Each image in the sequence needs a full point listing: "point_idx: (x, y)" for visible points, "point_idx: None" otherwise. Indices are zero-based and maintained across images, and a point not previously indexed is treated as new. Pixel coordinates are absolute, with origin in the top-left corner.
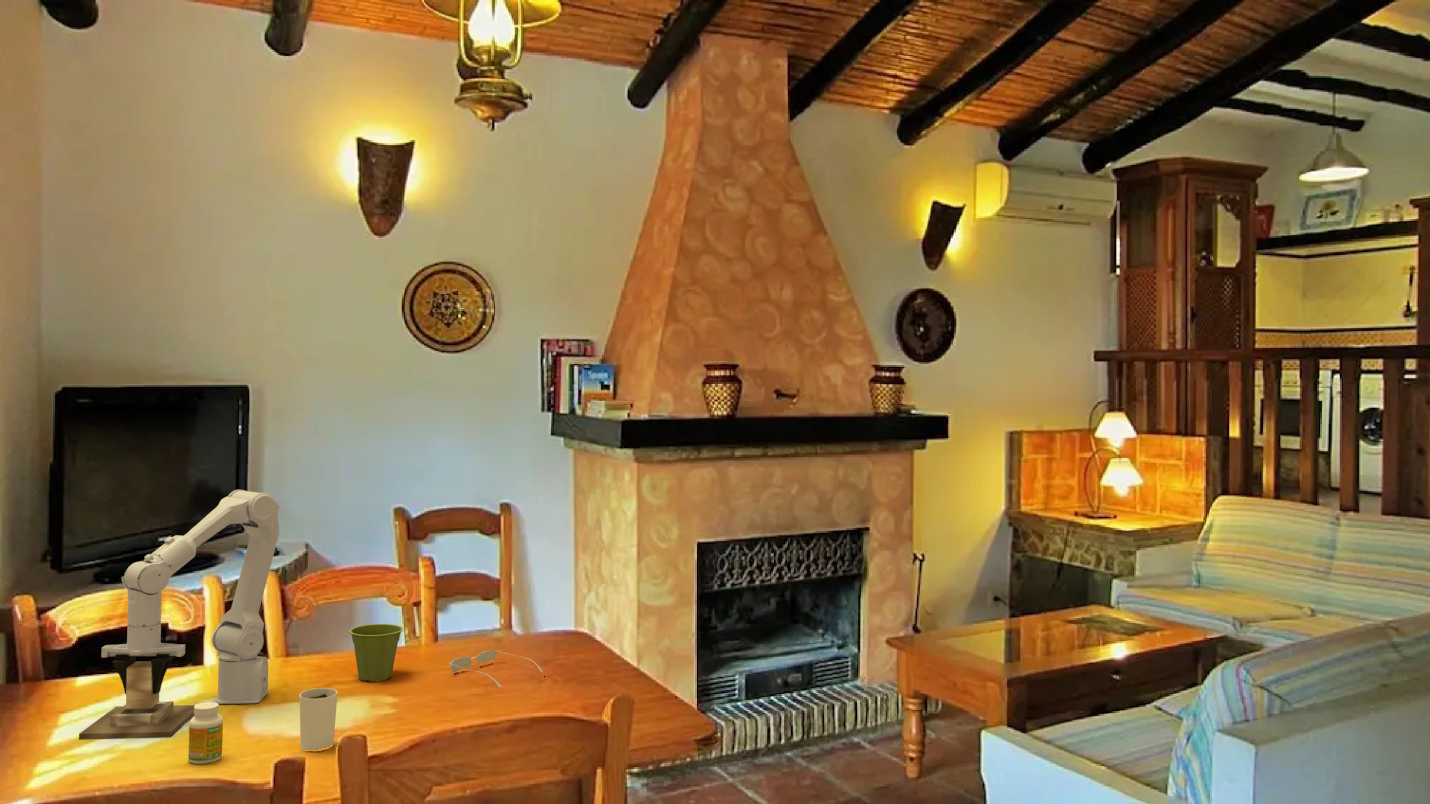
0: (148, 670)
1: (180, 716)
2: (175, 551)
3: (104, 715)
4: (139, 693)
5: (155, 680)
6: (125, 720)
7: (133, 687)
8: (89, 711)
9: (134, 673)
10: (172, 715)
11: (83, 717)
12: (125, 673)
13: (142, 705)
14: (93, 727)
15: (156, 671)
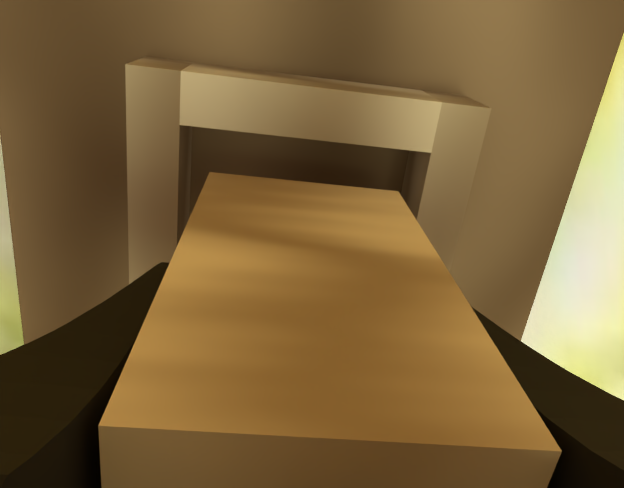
0: (165, 388)
1: (59, 233)
2: None
3: (524, 317)
4: (301, 229)
5: (116, 317)
6: (371, 88)
7: (372, 263)
8: None
9: (399, 370)
10: (121, 260)
11: (617, 365)
12: (533, 395)
13: (272, 188)
14: (565, 92)
15: (34, 377)
